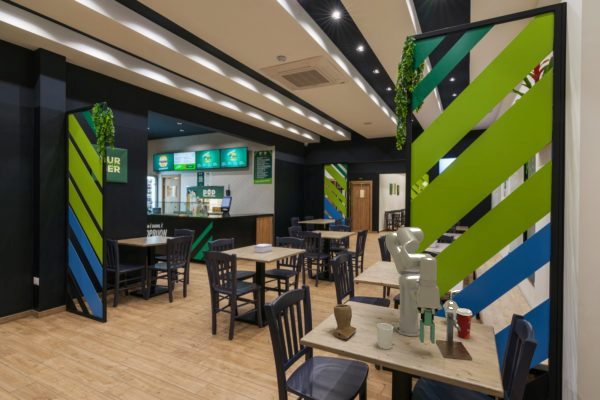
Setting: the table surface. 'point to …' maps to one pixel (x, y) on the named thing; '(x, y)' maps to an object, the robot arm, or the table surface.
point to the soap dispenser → (451, 307)
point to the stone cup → (343, 321)
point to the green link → (427, 323)
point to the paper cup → (464, 322)
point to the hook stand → (452, 342)
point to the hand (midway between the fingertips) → (427, 321)
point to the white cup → (385, 335)
